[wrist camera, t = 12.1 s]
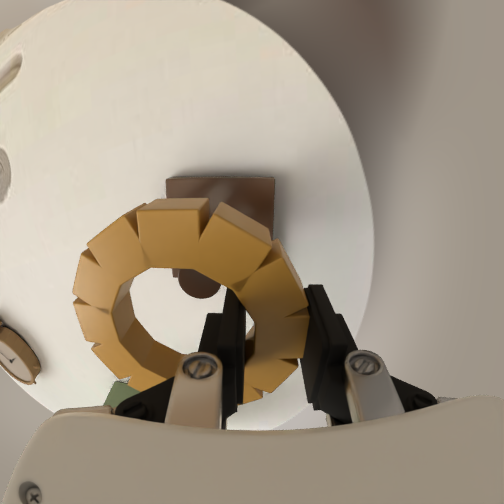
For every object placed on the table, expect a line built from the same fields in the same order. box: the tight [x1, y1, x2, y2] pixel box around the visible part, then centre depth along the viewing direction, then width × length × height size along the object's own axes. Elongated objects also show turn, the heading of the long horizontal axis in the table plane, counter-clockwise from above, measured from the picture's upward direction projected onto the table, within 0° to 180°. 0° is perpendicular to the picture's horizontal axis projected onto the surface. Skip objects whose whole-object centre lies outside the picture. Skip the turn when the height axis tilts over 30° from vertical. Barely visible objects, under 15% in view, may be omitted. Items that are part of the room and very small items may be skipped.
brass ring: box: [73, 198, 310, 405], centre depth 11 cm, size 10×10×2 cm
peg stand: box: [166, 176, 275, 299], centre depth 19 cm, size 9×9×10 cm
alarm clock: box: [0, 321, 40, 385], centre depth 30 cm, size 11×5×15 cm
